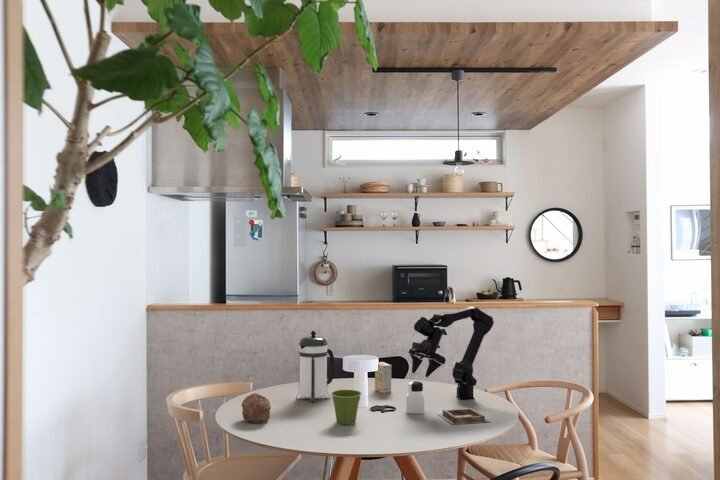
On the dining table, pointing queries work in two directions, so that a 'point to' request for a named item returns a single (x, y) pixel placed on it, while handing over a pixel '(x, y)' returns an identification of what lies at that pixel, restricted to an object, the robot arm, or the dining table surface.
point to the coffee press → (314, 367)
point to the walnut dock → (463, 416)
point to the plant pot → (346, 405)
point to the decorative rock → (256, 408)
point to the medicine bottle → (415, 398)
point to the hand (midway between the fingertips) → (419, 374)
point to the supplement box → (383, 378)
